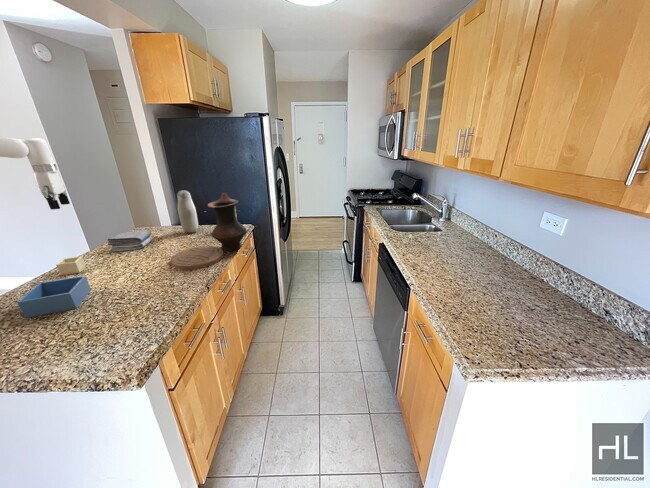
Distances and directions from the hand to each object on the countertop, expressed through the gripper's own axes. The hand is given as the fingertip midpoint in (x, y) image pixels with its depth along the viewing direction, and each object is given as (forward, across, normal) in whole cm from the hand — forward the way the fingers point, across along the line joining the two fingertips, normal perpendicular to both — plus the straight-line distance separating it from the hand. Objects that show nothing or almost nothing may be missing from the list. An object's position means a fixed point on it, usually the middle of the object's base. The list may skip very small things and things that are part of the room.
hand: (60, 206), depth 121 cm
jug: (+30, +10, +71) cm, 78 cm away
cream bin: (+29, +10, -1) cm, 31 cm away
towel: (+30, -16, +17) cm, 38 cm away
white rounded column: (+30, -29, +48) cm, 64 cm away
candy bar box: (+30, -23, +72) cm, 82 cm away
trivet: (+30, +18, +54) cm, 64 cm away
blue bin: (+29, +41, +6) cm, 50 cm away
